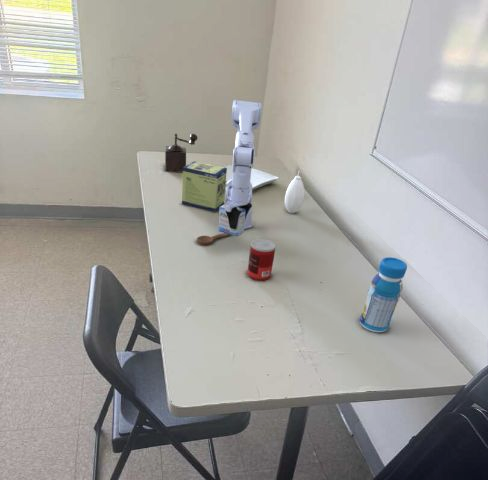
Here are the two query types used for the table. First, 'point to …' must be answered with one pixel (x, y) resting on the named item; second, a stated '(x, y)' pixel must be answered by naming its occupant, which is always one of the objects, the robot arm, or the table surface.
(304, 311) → the table surface
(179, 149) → the manual coffee grinder
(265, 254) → the canned food
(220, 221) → the medicine box
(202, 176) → the protein box
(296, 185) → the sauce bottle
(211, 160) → the table surface
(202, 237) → the wooden spoon
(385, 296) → the beverage bottle
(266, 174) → the square plate
